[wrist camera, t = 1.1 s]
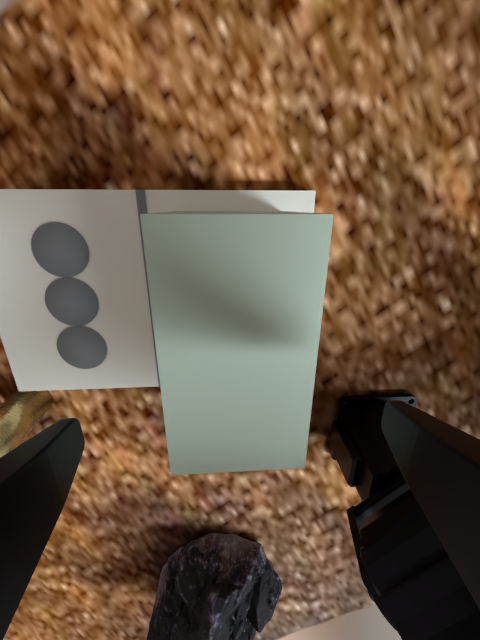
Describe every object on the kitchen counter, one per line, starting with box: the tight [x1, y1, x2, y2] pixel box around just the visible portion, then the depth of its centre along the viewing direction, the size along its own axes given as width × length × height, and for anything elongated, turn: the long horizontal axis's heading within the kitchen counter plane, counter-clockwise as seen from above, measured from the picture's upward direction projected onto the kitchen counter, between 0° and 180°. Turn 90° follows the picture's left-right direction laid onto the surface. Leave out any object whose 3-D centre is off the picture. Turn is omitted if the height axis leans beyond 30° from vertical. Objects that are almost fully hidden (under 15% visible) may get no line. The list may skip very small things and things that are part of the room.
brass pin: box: [0, 390, 53, 458], centre depth 19 cm, size 3×3×7 cm
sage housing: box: [140, 211, 333, 475], centre depth 15 cm, size 6×11×8 cm, turn 0°
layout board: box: [0, 189, 316, 391], centre depth 16 cm, size 20×13×8 cm, turn 90°
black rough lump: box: [147, 533, 283, 640], centre depth 27 cm, size 13×14×10 cm
